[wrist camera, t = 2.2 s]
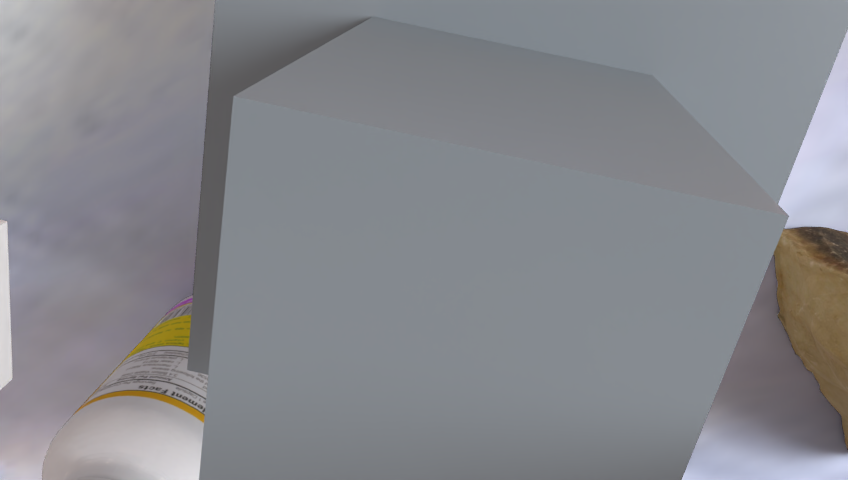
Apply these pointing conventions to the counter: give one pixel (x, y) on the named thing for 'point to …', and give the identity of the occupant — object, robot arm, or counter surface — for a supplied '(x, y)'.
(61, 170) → the counter surface
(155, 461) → the supplement bottle
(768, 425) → the counter surface
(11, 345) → the robot arm
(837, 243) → the rock
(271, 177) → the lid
